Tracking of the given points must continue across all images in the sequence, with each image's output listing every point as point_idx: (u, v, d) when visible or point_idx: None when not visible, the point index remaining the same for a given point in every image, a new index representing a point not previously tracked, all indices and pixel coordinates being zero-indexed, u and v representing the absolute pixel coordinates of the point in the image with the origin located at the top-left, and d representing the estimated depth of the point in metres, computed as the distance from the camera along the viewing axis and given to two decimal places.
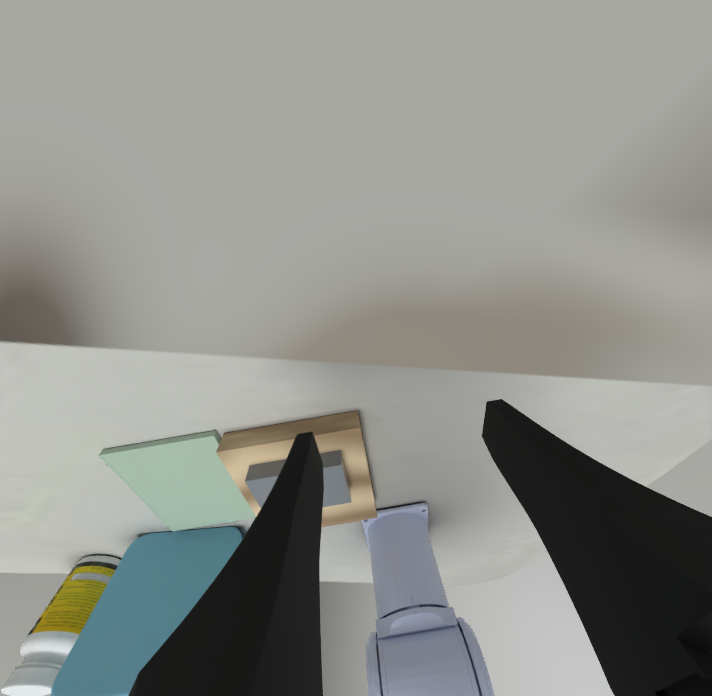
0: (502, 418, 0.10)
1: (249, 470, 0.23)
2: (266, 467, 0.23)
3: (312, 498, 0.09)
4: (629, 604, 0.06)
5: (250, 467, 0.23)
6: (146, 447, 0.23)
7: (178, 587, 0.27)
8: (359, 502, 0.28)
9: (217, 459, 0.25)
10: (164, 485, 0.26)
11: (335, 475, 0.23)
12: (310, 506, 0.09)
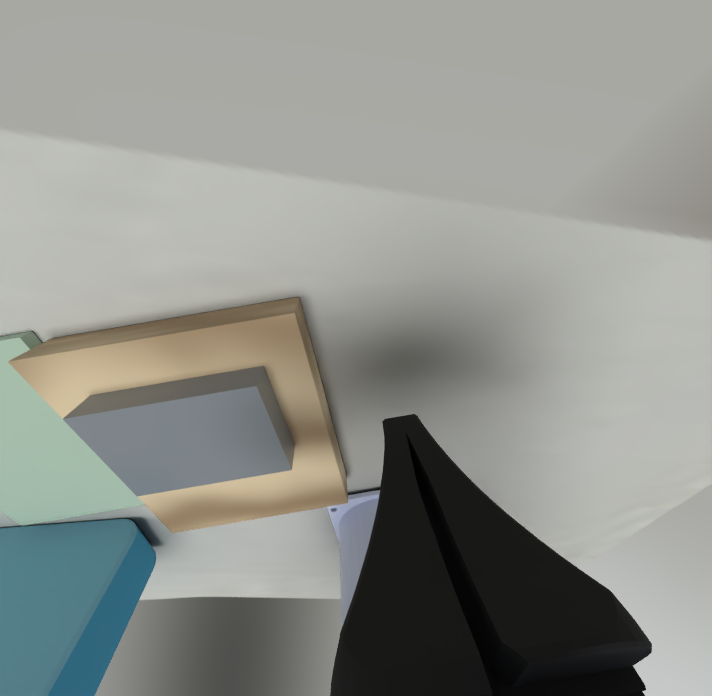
0: (406, 434, 0.10)
1: (84, 402, 0.12)
2: (117, 396, 0.12)
3: None
4: (472, 631, 0.06)
5: (89, 397, 0.12)
6: None
7: None
8: (314, 476, 0.17)
9: None
10: None
11: (248, 411, 0.12)
12: None
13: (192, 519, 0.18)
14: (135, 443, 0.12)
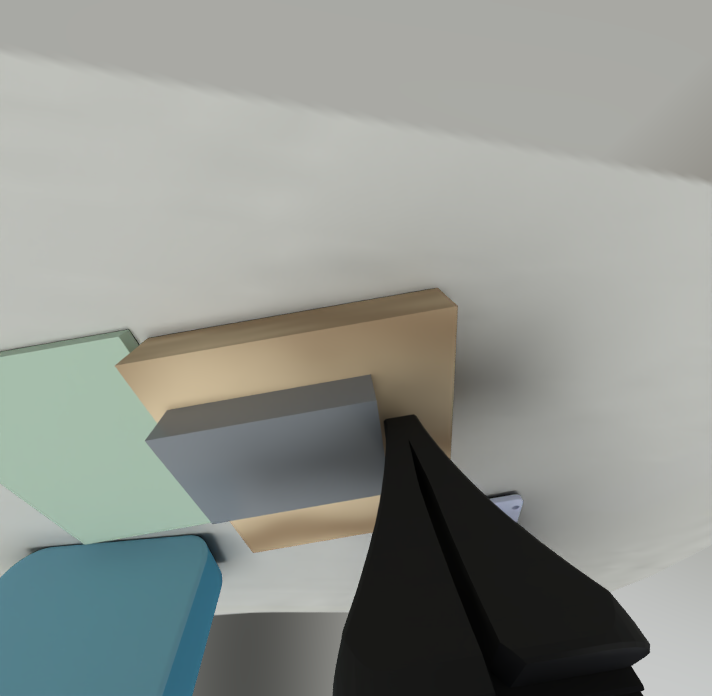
0: (405, 435, 0.10)
1: (163, 419, 0.10)
2: (202, 412, 0.10)
3: None
4: None
5: (167, 413, 0.10)
6: None
7: (75, 656, 0.14)
8: None
9: None
10: (40, 456, 0.13)
11: (360, 429, 0.10)
12: None
13: (278, 537, 0.16)
14: (222, 466, 0.10)
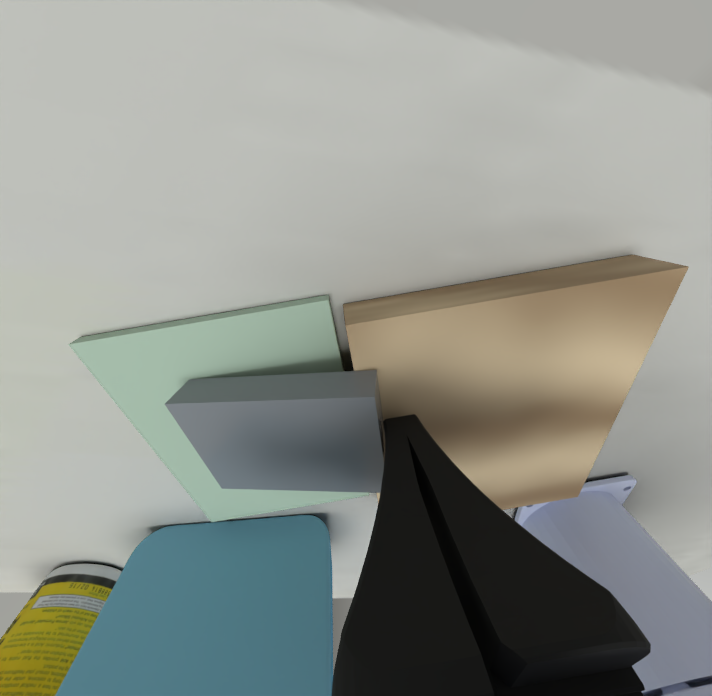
0: (405, 434, 0.10)
1: (184, 387, 0.11)
2: (216, 385, 0.11)
3: None
4: None
5: (188, 382, 0.11)
6: (176, 327, 0.10)
7: (233, 628, 0.14)
8: (566, 467, 0.15)
9: (321, 367, 0.12)
10: None
11: (357, 423, 0.10)
12: None
13: None
14: (229, 438, 0.11)
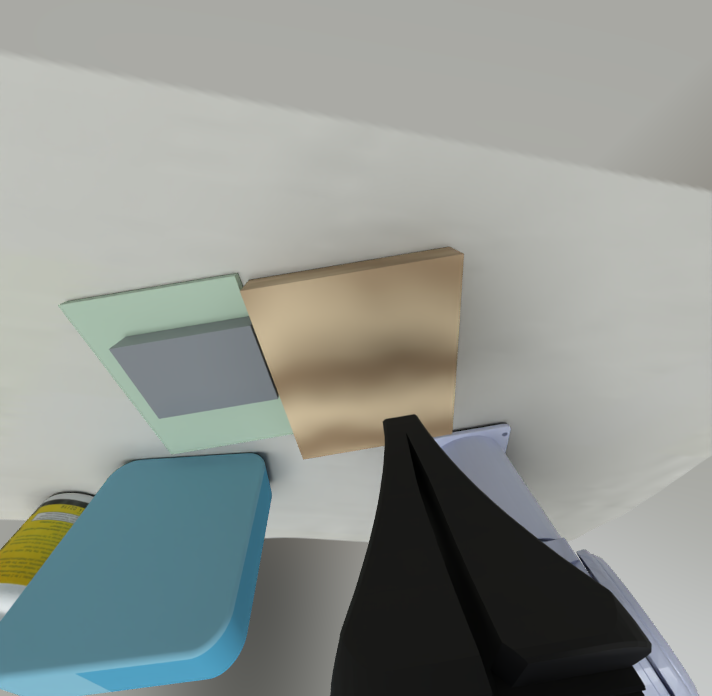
0: (406, 434, 0.10)
1: (122, 340, 0.16)
2: (147, 336, 0.16)
3: None
4: (471, 631, 0.06)
5: (125, 337, 0.16)
6: (131, 293, 0.15)
7: (181, 520, 0.19)
8: (433, 406, 0.20)
9: None
10: None
11: (244, 346, 0.16)
12: None
13: (324, 445, 0.21)
14: (159, 371, 0.16)
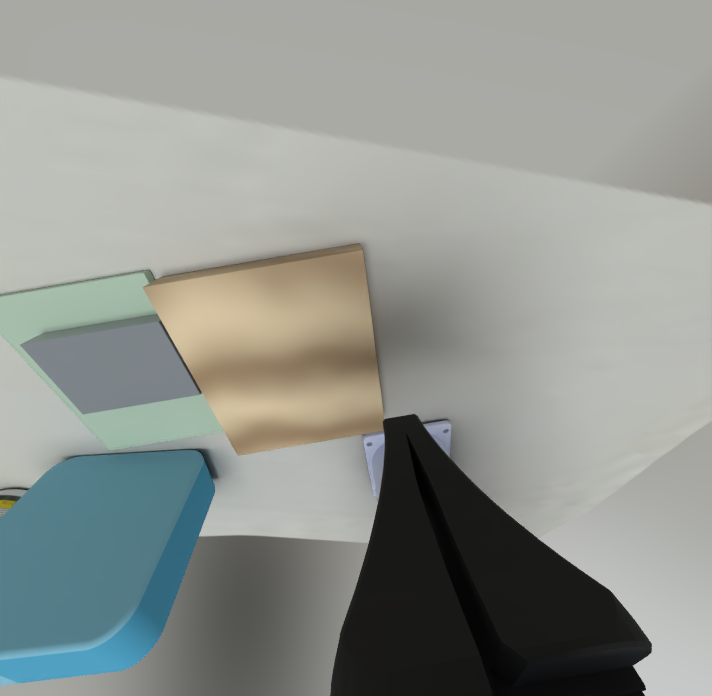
0: (406, 434, 0.10)
1: (37, 336, 0.16)
2: (61, 332, 0.16)
3: None
4: (471, 631, 0.06)
5: (42, 333, 0.17)
6: (42, 290, 0.16)
7: (106, 515, 0.19)
8: (360, 402, 0.20)
9: None
10: None
11: (156, 342, 0.16)
12: None
13: (256, 441, 0.21)
14: (75, 366, 0.16)
